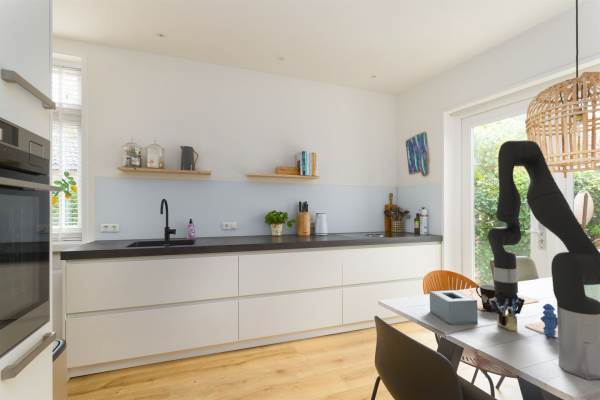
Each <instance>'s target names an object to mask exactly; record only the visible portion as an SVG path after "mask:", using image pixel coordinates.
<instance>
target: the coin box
mask: <svg viewBox="0 0 600 400" xmlns="http://www.w3.org/2000/svg"><path fill="white" fill-rule="evenodd" d="M429 312H430V313H431V314H432V315H434V316H436V317H437V318H439V319H440V320H441V321H443V322H444V321H445V322H444V323H445V324H447V323H448V325H449V324H453V325H464V324H463V323H472V324H478V323H479V322H478V321H479V320H478V318H479V316H478V300H477V299H475V298H473V297H472V296H469V295H466V294H464V293H463V292H460V291H458V290H457V289H456V290H455V289H454V290H453V289H449V290H434V291H433V290H429Z"/></svg>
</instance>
